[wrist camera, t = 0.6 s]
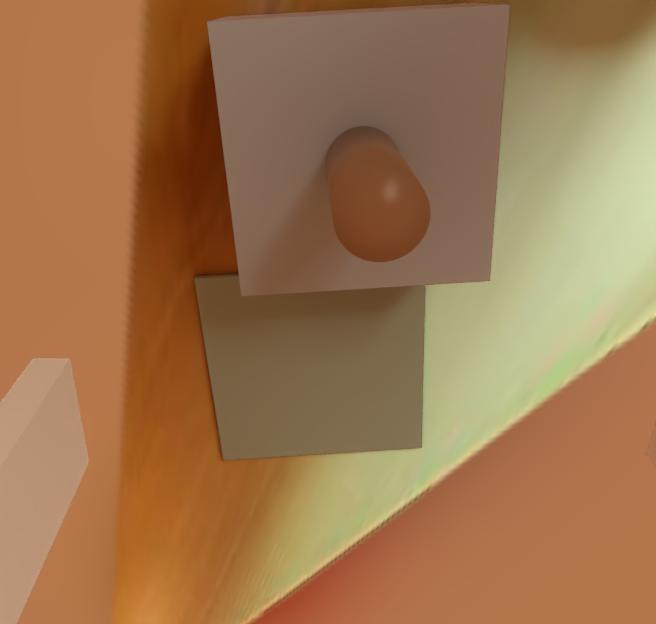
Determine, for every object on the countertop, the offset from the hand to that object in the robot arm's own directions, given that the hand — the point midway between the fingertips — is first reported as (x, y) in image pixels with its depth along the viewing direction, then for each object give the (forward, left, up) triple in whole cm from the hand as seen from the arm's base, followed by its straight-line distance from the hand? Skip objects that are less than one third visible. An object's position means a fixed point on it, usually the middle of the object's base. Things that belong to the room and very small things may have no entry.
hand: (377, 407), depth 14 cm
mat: (+2, +15, -26) cm, 30 cm away
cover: (-1, -1, -26) cm, 26 cm away
